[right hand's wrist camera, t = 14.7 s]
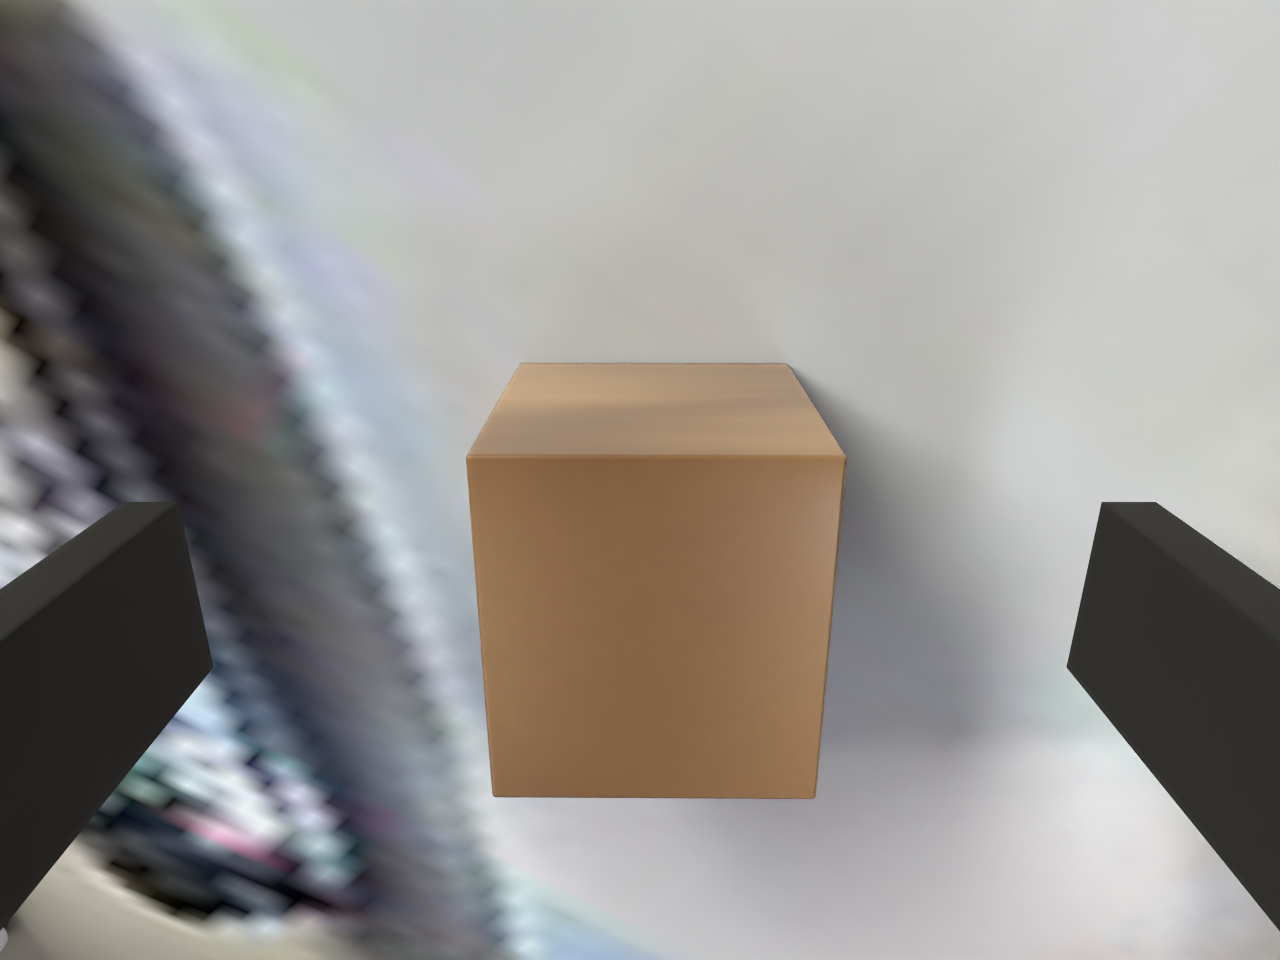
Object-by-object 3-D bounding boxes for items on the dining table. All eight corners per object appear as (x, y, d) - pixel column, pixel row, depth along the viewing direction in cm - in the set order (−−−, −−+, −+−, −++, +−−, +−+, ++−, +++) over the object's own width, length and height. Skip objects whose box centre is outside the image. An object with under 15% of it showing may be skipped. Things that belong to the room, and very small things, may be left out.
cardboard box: (788, 362, 15) (847, 456, 10) (771, 626, 17) (816, 800, 12) (518, 362, 15) (464, 454, 10) (533, 625, 17) (492, 798, 12)
